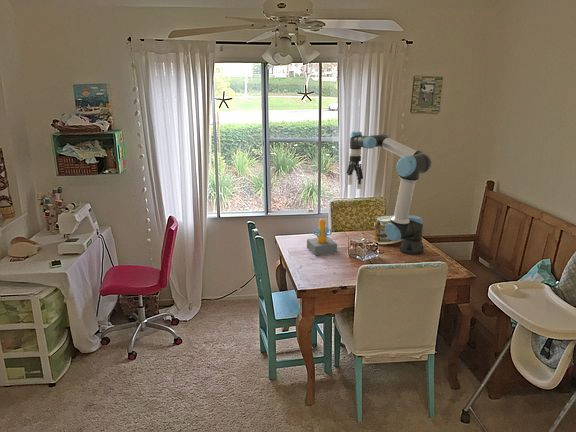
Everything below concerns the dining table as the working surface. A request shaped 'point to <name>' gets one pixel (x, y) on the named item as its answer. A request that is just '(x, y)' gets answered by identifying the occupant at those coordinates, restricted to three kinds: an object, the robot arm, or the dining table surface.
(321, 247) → the plinth
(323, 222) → the orange blue tower
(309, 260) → the dining table surface
